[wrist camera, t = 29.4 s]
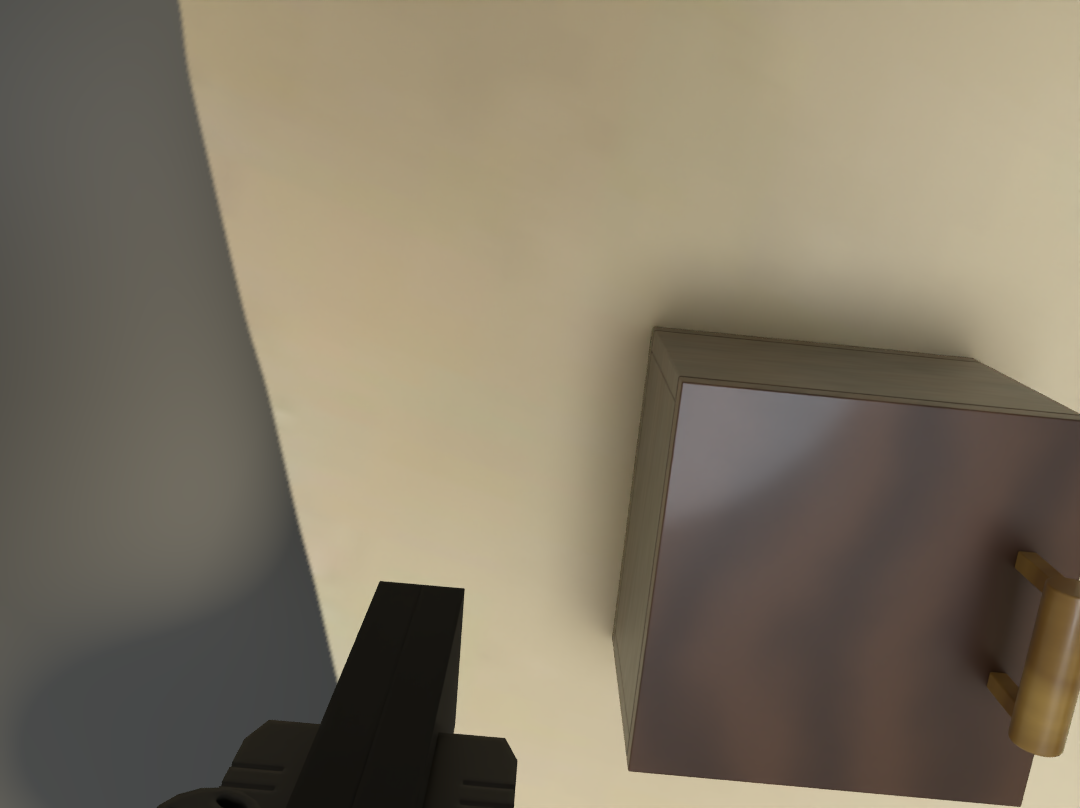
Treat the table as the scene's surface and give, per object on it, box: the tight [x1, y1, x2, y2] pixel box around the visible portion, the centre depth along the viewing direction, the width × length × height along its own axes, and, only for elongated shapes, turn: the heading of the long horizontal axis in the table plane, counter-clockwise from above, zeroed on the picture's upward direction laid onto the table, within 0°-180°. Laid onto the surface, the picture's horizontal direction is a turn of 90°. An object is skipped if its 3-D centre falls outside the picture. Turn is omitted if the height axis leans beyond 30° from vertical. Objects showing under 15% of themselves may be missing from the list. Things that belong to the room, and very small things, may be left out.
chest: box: [612, 327, 1080, 756], centre depth 43 cm, size 15×16×10 cm
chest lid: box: [627, 377, 1080, 807], centre depth 36 cm, size 16×16×5 cm
